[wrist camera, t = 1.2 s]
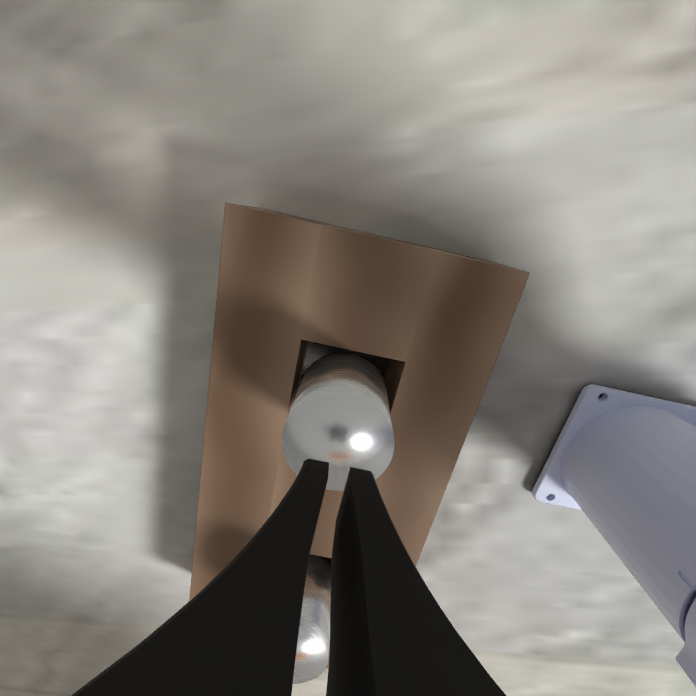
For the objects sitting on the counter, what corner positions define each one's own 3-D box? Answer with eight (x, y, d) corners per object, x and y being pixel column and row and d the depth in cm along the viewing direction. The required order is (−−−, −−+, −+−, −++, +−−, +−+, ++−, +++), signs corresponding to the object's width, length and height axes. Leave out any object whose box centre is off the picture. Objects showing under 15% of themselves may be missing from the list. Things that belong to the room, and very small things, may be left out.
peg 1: (340, 557, 20) (336, 637, 16) (327, 605, 21) (319, 690, 17) (270, 544, 19) (248, 621, 16) (260, 593, 21) (238, 675, 17)
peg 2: (396, 363, 16) (407, 407, 12) (374, 438, 17) (378, 500, 13) (307, 344, 15) (290, 383, 12) (293, 421, 17) (273, 479, 13)
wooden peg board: (493, 262, 17) (529, 272, 14) (370, 611, 26) (372, 676, 22) (255, 207, 17) (225, 203, 13) (211, 581, 26) (185, 643, 22)
